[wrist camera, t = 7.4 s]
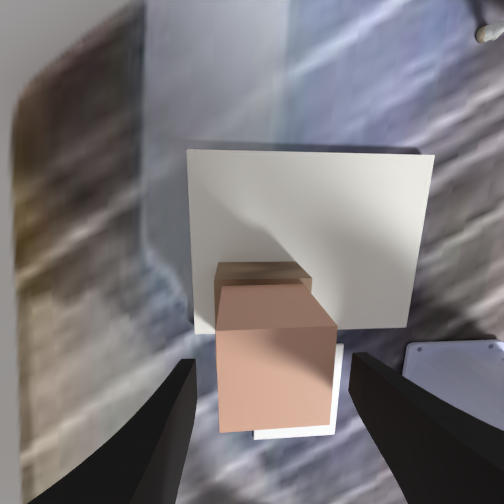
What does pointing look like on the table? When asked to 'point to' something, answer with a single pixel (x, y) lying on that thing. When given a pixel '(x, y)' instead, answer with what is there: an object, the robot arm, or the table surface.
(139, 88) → the table surface
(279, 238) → the base plate
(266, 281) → the walnut block
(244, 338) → the terracotta block
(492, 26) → the bull figurine
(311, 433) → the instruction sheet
